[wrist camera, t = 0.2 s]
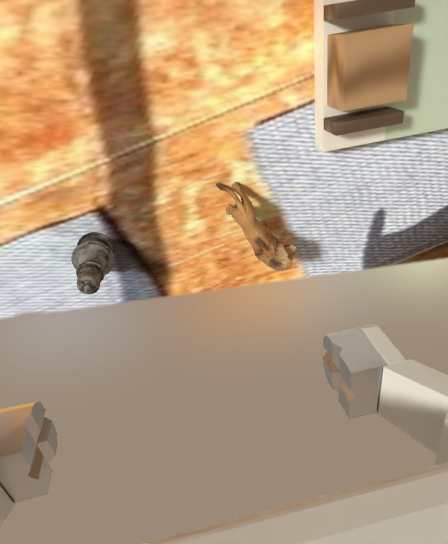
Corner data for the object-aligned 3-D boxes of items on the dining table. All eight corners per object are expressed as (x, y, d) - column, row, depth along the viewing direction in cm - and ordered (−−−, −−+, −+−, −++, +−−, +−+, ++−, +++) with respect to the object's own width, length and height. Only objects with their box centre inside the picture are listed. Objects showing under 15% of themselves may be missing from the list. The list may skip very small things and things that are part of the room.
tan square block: (327, 34, 48) (345, 34, 43) (390, 24, 48) (414, 23, 44) (327, 105, 52) (343, 111, 48) (384, 94, 53) (406, 100, 48)
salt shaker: (96, 222, 57) (86, 263, 47) (124, 250, 60) (121, 293, 50) (66, 246, 58) (50, 290, 48) (95, 272, 61) (86, 319, 51)
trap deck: (313, -24, 47) (323, -27, 45) (543, -58, 50) (565, -63, 47) (315, 146, 58) (323, 151, 55) (505, 111, 60) (521, 114, 58)
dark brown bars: (323, 5, 46) (338, 2, 43) (396, -6, 47) (416, -10, 43) (323, 129, 53) (335, 135, 50) (386, 117, 54) (402, 123, 51)
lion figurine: (287, 233, 64) (307, 260, 57) (263, 255, 65) (279, 284, 58) (228, 170, 57) (241, 191, 50) (201, 196, 58) (211, 220, 51)
